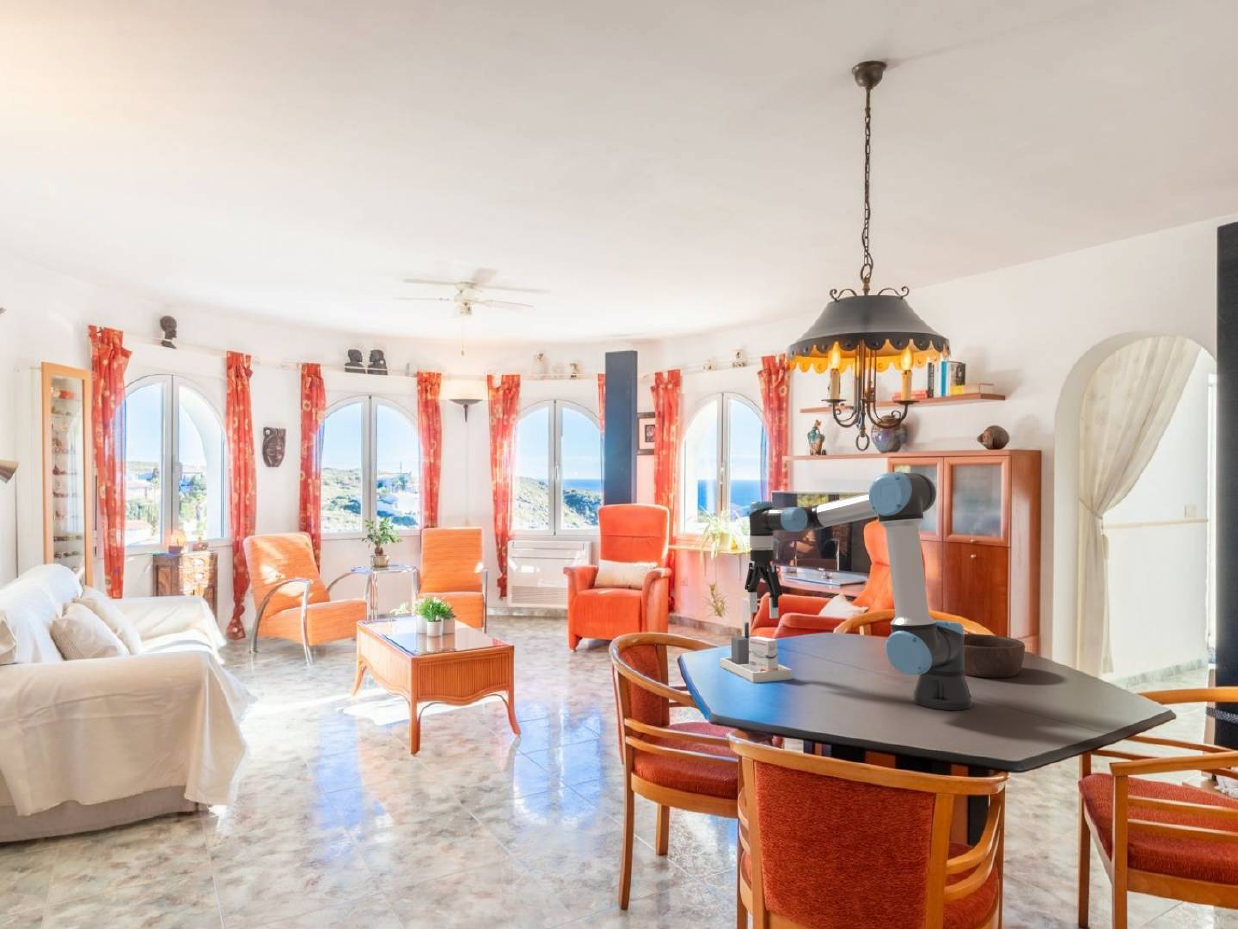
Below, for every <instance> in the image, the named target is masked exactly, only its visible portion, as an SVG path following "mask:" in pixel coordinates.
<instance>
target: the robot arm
mask: <svg viewBox="0 0 1238 929" xmlns="http://www.w3.org/2000/svg"><path fill="white" fill-rule="evenodd" d="M936 498H937V489H936V486H935V484H934V482H933V481H932V480H931V479H930V478H929V477H928V476H925V475H924V474H921V473H917V472H900V471H896V472H895V471H893V472H887V473H883V474H881V475H879V476H877V477H876V478H875V479H874V480H873V481H872V483H871V485H870V487H869V489H868V492H865V493H861V494H858V495H854V496H853V495H852V496H850V497H845V498H841V499H837V500H832V501H827V502H823V503H820V504H815V505H810V506H784V507H783V506H782V507H775V506H774V504H773V502H772V501H771V500H770V501H768V500H767V501H763V500H762V501H752V502H750V504H749V513H748V517H749V531H750V532H749V547H750V549H751V550H750V551H749V552H750V558H749V559H750V561H751V562H749V563H748V571H747V575H746V580H745V584H744V590H745V591H747V593H748V613H751V614H752V613H758V590H757V589H758V586H759V584H760V581H761V579H762V581H764V583H765V586H766V589H767V591H768V592H769V593H768V594H769V596H768V599H769V600H768V602H769V605H768V606H769V607H768V608H769V619H779V597H781V596H783V590H782V587H781V584H780V579H779V575H778V571H777V570H778V569H777V565H776V564H773V565H772V564H771V562H774V560H775V550H774V549H773V548H774V541H775V539H774V531H775V532H776V531H777V532H789V533H793V532H794V533H795V532H801V531H817V530H818V531H819V530H822V529H824V528H827V527H830V526H831V527H832V526H836V525H841V524H846V523H852V522H857V521H861V520H866V519H871V518H876V517H878V524H879V525H881V526H882V527H883V528H884V529H885V534H886V535H885V538H886V545H887V553H888V562H889V564H888V565H889V571H890V580H891V587H892V596H893V606H894V617H893V619H892V620H891V621H890V631H891V632H890V633H891V634H890V635H889V636H888V638H887V639H886V641H885V645H884V646H885V647H884V651H885V655H886V658H887V660H888V661H889V663H890V664H891V666H893V667H894V669H896V670H897V671H899V672H901V673H902V674H905V675H908V676H909V675H911V676H912V675H913V676H915V675H918V677H917V678H918V679H917V681H916V686H915V689H914V690H913V702H914V703H915V704H918V705H919V706H923V707H926V708H931V709H938V710H947V711H962V710H968V709H970V708H972V706H973V697H972V695H971V693H970V688H969V685H968V683H967V679H966V675H965V673H964V637H965V636H964V634H965V633H964V626H963V625H962V623H959V622H956V621H950V620H942V619H941V620H940V619H934V618H933V617H932V616H930V613H929V604H928V597H927V588H926V587H927V586H926V577H925V571H924V562H923V556H922V555H923V553H922V545H921V537H920V528H919V527H920V525H921V524H922V522H923V521H924V520H925V519H924V513H925V512H927V511H929V510H930V509H931V508H932V507H933V505H934V504H935V501H936Z"/></svg>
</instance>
